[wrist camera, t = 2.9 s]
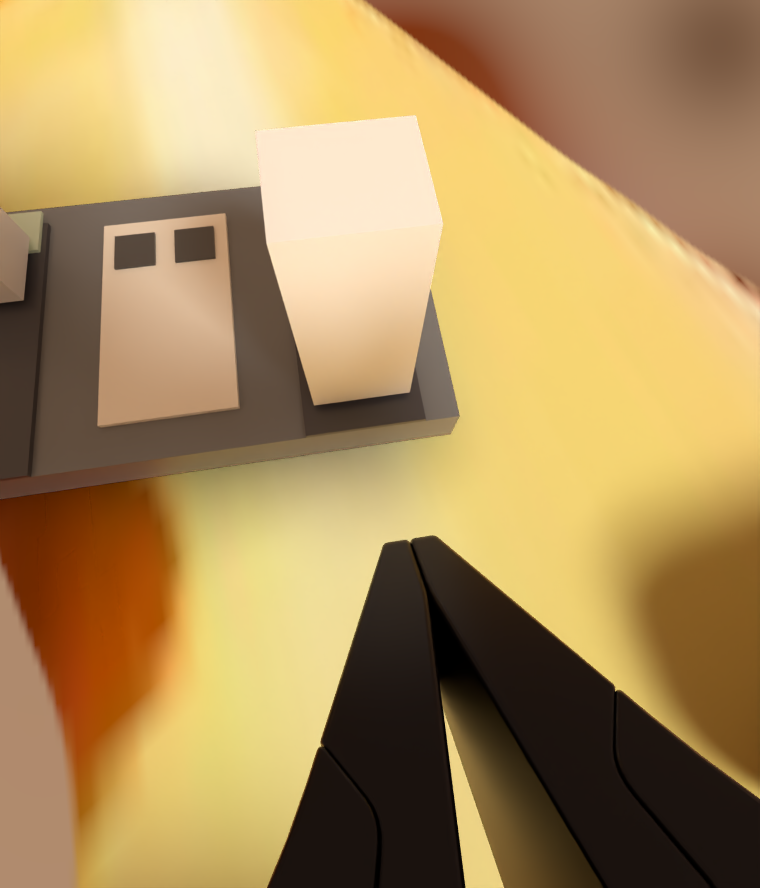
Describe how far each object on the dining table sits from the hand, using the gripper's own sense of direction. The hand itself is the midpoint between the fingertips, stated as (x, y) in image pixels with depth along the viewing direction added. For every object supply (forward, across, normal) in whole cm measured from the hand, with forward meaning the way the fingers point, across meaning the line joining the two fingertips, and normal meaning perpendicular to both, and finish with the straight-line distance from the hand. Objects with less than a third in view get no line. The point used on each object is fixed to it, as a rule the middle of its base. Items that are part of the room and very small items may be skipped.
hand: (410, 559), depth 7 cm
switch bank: (+15, +7, -1) cm, 17 cm away
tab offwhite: (+11, 0, 0) cm, 11 cm away
